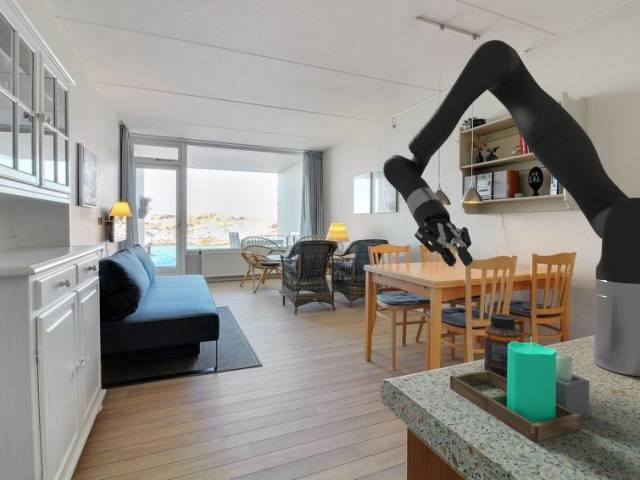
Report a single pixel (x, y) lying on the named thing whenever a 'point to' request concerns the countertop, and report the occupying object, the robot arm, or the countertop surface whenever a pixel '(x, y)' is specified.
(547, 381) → the candle
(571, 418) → the wooden tray
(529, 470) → the countertop surface
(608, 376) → the countertop surface
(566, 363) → the pale green rounded peg
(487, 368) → the supplement bottle
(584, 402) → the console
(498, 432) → the countertop surface
